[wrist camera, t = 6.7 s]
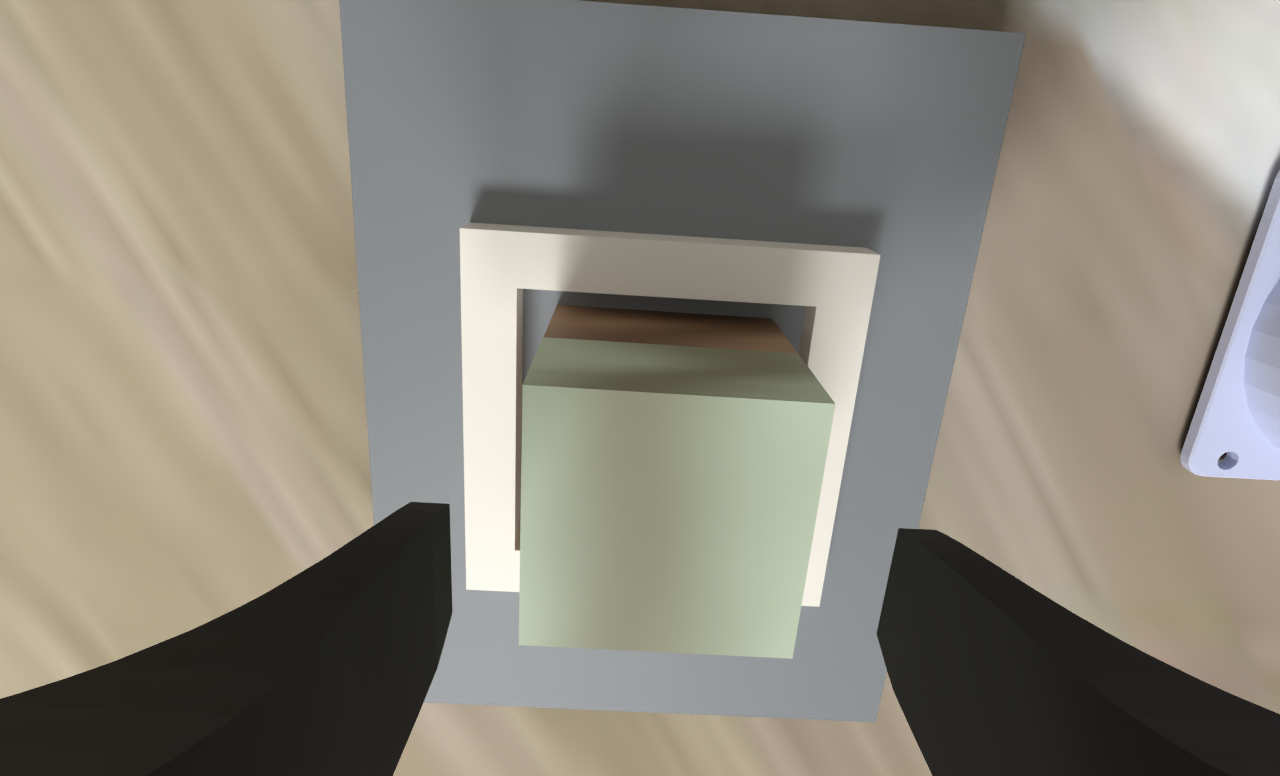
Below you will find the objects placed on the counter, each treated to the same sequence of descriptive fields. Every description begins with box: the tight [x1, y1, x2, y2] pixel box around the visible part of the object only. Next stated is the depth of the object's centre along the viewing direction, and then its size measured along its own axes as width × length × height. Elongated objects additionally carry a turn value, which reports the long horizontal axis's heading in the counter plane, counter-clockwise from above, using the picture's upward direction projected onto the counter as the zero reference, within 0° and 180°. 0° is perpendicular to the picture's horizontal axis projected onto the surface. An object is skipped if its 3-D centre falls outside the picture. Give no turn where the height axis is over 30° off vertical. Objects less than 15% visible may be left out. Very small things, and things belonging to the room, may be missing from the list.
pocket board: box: [339, 0, 1026, 722], centre depth 18 cm, size 14×18×2 cm
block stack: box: [519, 305, 835, 659], centre depth 15 cm, size 5×5×6 cm
